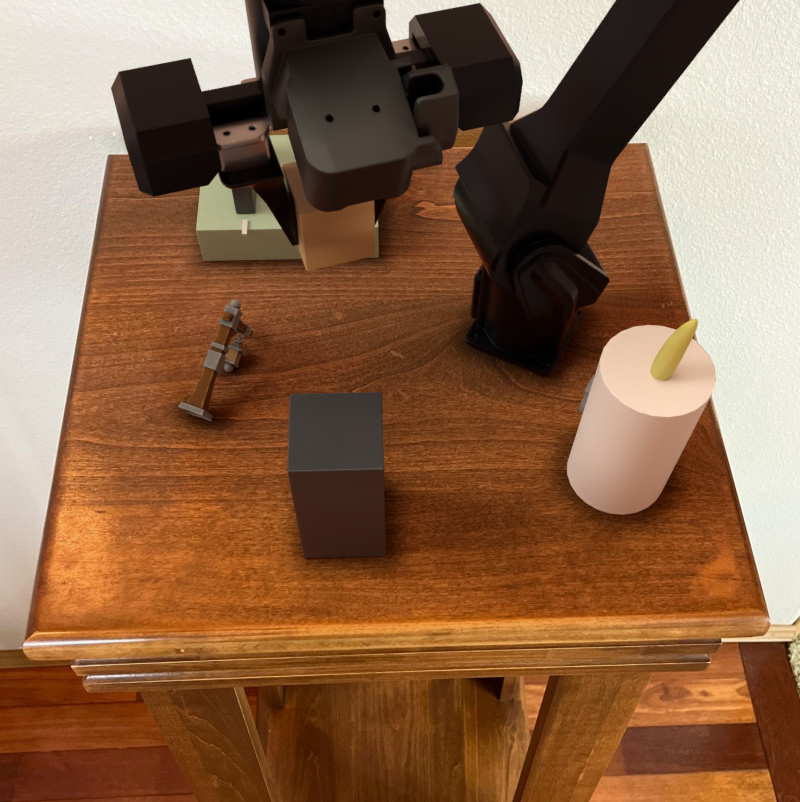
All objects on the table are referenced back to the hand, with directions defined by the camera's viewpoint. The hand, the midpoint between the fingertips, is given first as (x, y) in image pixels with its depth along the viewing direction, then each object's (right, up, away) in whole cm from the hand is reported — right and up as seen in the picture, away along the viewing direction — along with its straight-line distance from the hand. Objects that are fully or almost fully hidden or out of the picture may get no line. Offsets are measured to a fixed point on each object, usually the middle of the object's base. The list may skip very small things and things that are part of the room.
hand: (330, 232), depth 50 cm
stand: (0, -16, +6) cm, 17 cm away
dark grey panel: (-7, +9, +16) cm, 20 cm away
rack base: (-5, +8, +19) cm, 21 cm away
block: (0, 0, 0) cm, 0 cm away
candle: (+18, -13, +8) cm, 23 cm away
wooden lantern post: (-8, -6, +11) cm, 16 cm away
